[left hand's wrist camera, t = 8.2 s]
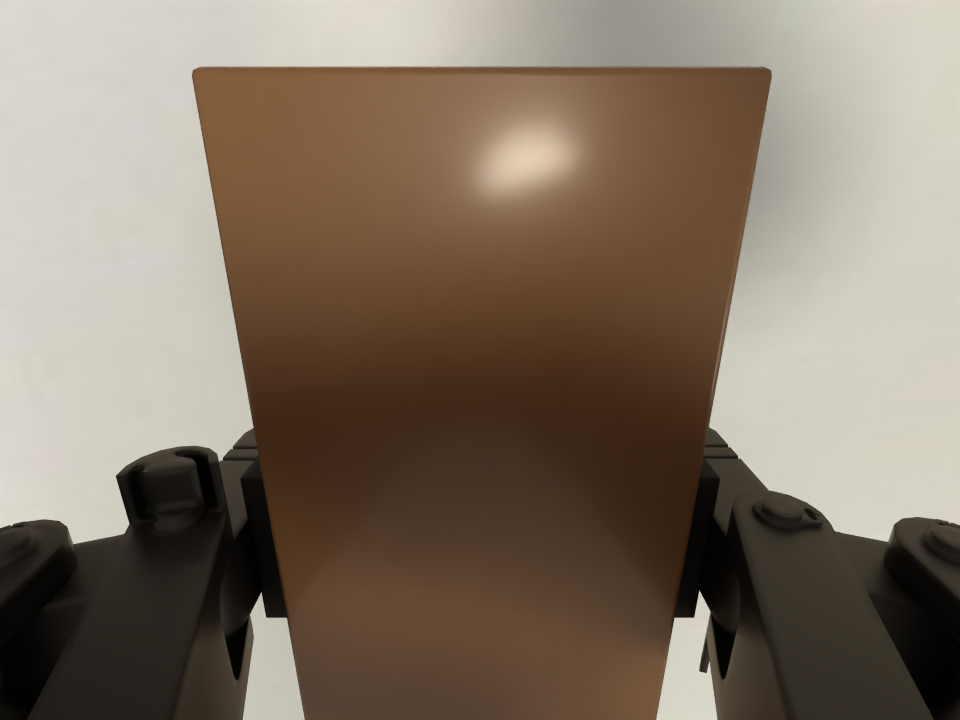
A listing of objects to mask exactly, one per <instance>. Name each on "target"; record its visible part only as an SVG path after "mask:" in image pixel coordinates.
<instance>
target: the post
mask: <svg viewBox="0 0 960 720" xmlns="http://www.w3.org/2000/svg"><path fill="white" fill-rule="evenodd" d="M771 77H772V75H771V70H769V69H767V68H765V67H199V68H197V69H194V70H193V73H192V79H193V84H194V90H195V96H196V101H197V107H198V113H199V119H200V124H201V130H202V136H203V141H204V147H205V153H206V158H207V164H208V170H209V176H210V181H211V187H212V193H213V198H214V204H215V210H216V215H217V221H218V227H219V233H220V238H221V244H222V250H223V255H224V261H225V267H226V272H227V278H228V284H229V290H230V295H231V301H232V307H233V312H234V318H235V324H236V329H237V335H238V341H239V347H240V352H241V358H242V364H243V369H244V375H245V381H246V386H247V392H248V398H249V404H250V409H251V415H252V421H253V426H254V432H255V438H256V443H257V449H258V455H259V461H260V466H261V472H262V478H263V483H264V489H265V495H266V500H267V506H268V512H269V518H270V523H271V529H272V535H273V540H274V546H275V552H276V558H277V563H278V569H279V575H280V580H281V586H282V592H283V597H284V603H285V609H286V615H287V620H288V626H289V632H290V637H291V643H292V649H293V654H294V660H295V666H296V672H297V677H298V683H299V689H300V694H301V700H302V706H303V711H304V717H305V720H656V717H657V712H658V706H659V700H660V695H661V689H662V684H663V678H664V673H665V667H666V662H667V656H668V650H669V645H670V639H671V634H672V628H673V623H674V617H675V611H676V606H677V600H678V595H679V589H680V584H681V578H682V573H683V567H684V561H685V556H686V550H687V545H688V539H689V534H690V528H691V522H692V517H693V511H694V506H695V500H696V495H697V489H698V484H699V478H700V472H701V467H702V461H703V456H704V450H705V445H706V439H707V433H708V428H709V422H710V417H711V411H712V406H713V400H714V394H715V389H716V383H717V378H718V372H719V367H720V361H721V356H722V350H723V344H724V339H725V333H726V328H727V322H728V317H729V311H730V305H731V300H732V294H733V289H734V283H735V278H736V272H737V267H738V261H739V255H740V250H741V244H742V239H743V233H744V228H745V222H746V216H747V211H748V205H749V200H750V194H751V189H752V183H753V178H754V172H755V166H756V161H757V155H758V150H759V144H760V139H761V133H762V127H763V122H764V116H765V111H766V105H767V100H768V94H769V89H770V83H771Z"/></svg>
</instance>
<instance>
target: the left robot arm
mask: <svg viewBox="0 0 960 720" xmlns="http://www.w3.org/2000/svg"><path fill="white" fill-rule="evenodd" d="M116 478H117V482H118V485H119V489H120V492H121V496H122V499H123V503H124V506H125V510H126V513H127V517H128V520H129V526H128V528H127V530H126V532H125V534H122V535H118V536H114V537H108V538H103V539H98V540H93V541H88V542H83V543H78V544H73V542H72V539H71V536H70V534H69V531H68V528H67V526H65V525H64V524H62V523H61V522H60V521H54V520H36V521H29V522H20V523H16V524H13V525H12V526H10V525H9V526H6V527H3V528H0V720H243V712H244V705H245V698H246V690H247V683H248V675H249V668H250V661H251V653H252V646H253V638H254V635H253V628H252V622H251V617H250V613H251V611H252V609H253V607H254V605H255V603H256V601H257V599H258V597H259V596H260V594H261V592H262V597H263V602H264V608H265V613H266V618H287V615H286V609H285V603H284V597H283V592H282V586H281V580H280V575H279V569H278V563H277V558H276V552H275V546H274V540H273V535H272V529H271V523H270V518H269V512H268V506H267V500H266V495H265V489H264V483H263V478H262V472H261V466H260V461H259V455H258V449H257V443H256V438H255V432H254V428H253V429H251V430H249V431H248V432H246V433H245V434H244V435H243V436H242V437H241V438H240V439H239V440H238V441H237V443H236V444H235V445H234V446H233V449H230V451H229V452H228V453H227V454H226V455H225V456H224V457H223V461H220V462H219V461H218V456H217V453H215V452H214V451H212V450H211V449H210V448H205V447H199V446H183V447H175V448H170V449H165V450H160V451H158V452H155V453H152V454H149V455H147V456H144V457H141V458H139V459H138V460H136V461H134V462H132V463H131V464H129V465H127V466H126V467H125V468H124V469H122V470H121V471H120V472H119V473H118V474H117V475H116ZM699 590H700V592H701V594H702V596H703V598H704V600H705V602H706V603H707V605H708V607H709V609H710V611H711V612H710V617H709V622H708V627H707V632H706V637H705V642H704V647H703V652H702V657H701V662H700V669H699V671H700V672H704V673H707V669H708V664H709V661H710V667H711V674H712V682H713V689H714V696H715V704H716V711H717V718H718V720H960V525H957V524H954V523H951V524H950V523H949V522H947V521H943V520H939V519H928V518H920V517H914V518H904V519H901V520H900V521H898V522H897V523H896V524H894V527H893V530H892V532H891V535H890V538H889V541H888V542H885V541H880V540H874V539H869V538H864V537H859V536H854V535H849V534H844V533H840V532H836V531H834V529H833V527H832V525H831V524H830V522H829V521H828V520H827V519H826V518H825V516H824V515H823V514H822V513H821V512H820V511H818V510H817V509H815V508H814V507H812V506H811V505H809V504H808V503H806V502H804V501H801V500H799V499H797V498H794V497H792V496H790V495H786V494H782V493H778V492H774V491H769V490H768V489H767V488H766V487H765V486H764V485H763V483H762V482H761V481H760V480H759V479H758V478H757V477H756V476H755V475H754V473H753V472H752V471H751V470H750V469H749V468H748V467H747V466H746V464H745V463H744V462H743V461H742V460H741V459H738V455H737V454H736V453H735V452H734V451H733V450H732V449H731V448H730V447H728V444H727V443H726V442H725V441H724V440H723V439H722V438H721V436H720V435H719V434H718V433H717V432H716V431H714V430H713V429H711V428H708V433H707V439H706V445H705V450H704V456H703V461H702V467H701V472H700V478H699V484H698V489H697V495H696V500H695V506H694V511H693V517H692V522H691V528H690V534H689V539H688V545H687V550H686V556H685V561H684V567H683V573H682V578H681V584H680V589H679V595H678V600H677V606H676V611H675V617H674V618H694V615H695V610H696V605H697V600H698V594H699Z"/></svg>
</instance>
